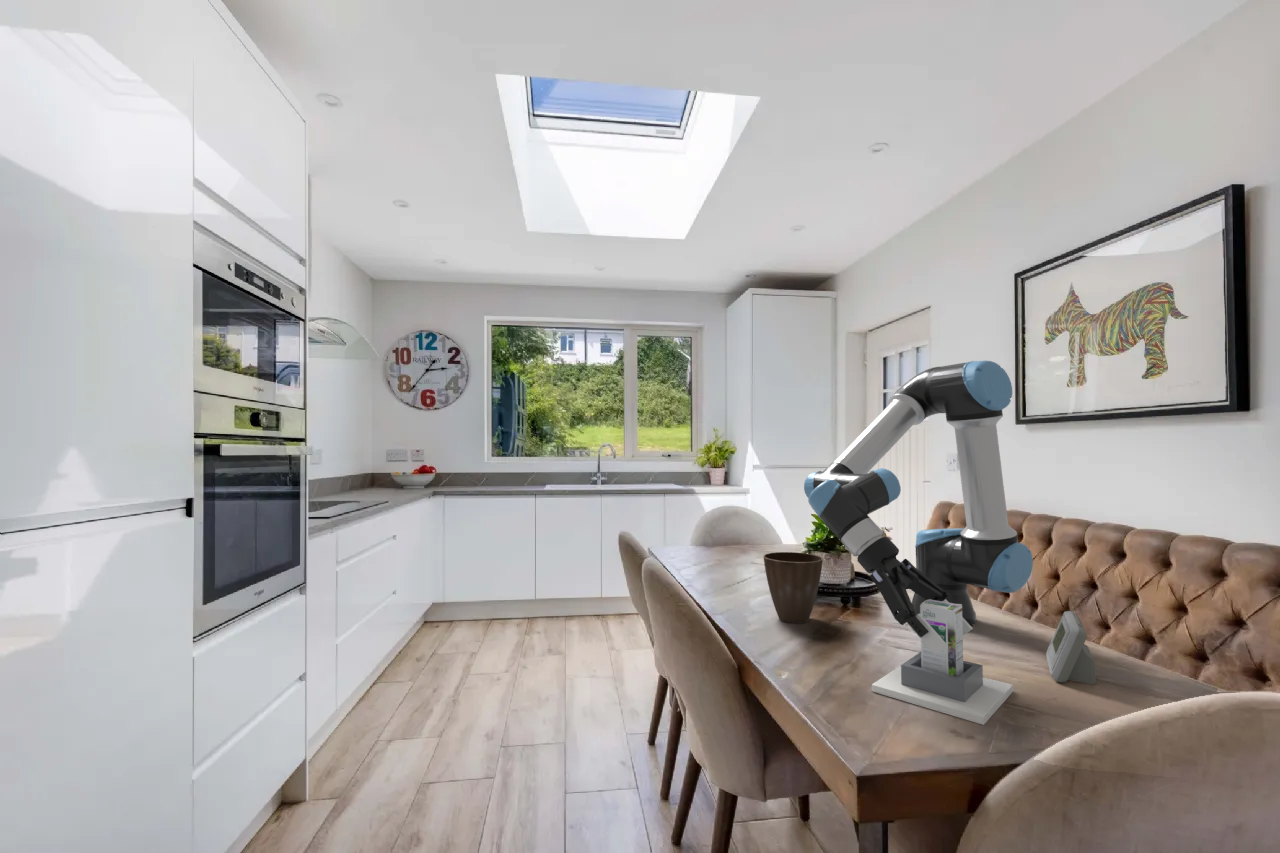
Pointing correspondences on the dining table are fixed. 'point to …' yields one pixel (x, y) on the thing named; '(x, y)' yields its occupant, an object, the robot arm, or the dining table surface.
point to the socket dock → (946, 690)
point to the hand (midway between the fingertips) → (955, 641)
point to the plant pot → (793, 583)
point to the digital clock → (1070, 652)
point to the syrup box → (944, 637)
